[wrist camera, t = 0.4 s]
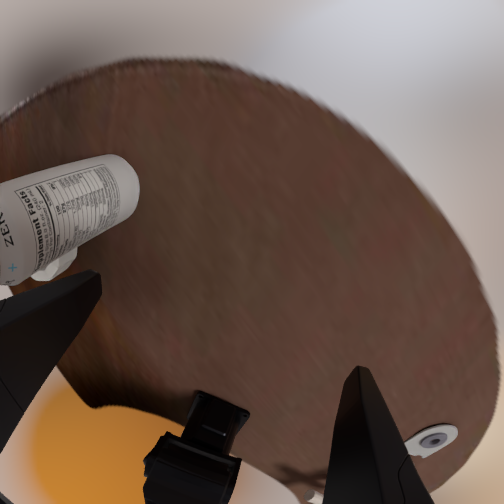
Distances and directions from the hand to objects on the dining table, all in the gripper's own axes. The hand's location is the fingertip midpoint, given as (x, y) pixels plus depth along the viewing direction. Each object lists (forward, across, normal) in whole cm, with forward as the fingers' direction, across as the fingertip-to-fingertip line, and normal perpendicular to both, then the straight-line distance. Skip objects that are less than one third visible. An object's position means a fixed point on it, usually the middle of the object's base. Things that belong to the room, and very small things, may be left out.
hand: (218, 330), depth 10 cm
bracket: (+13, -26, +25) cm, 38 cm away
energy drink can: (+15, +14, +4) cm, 21 cm away
